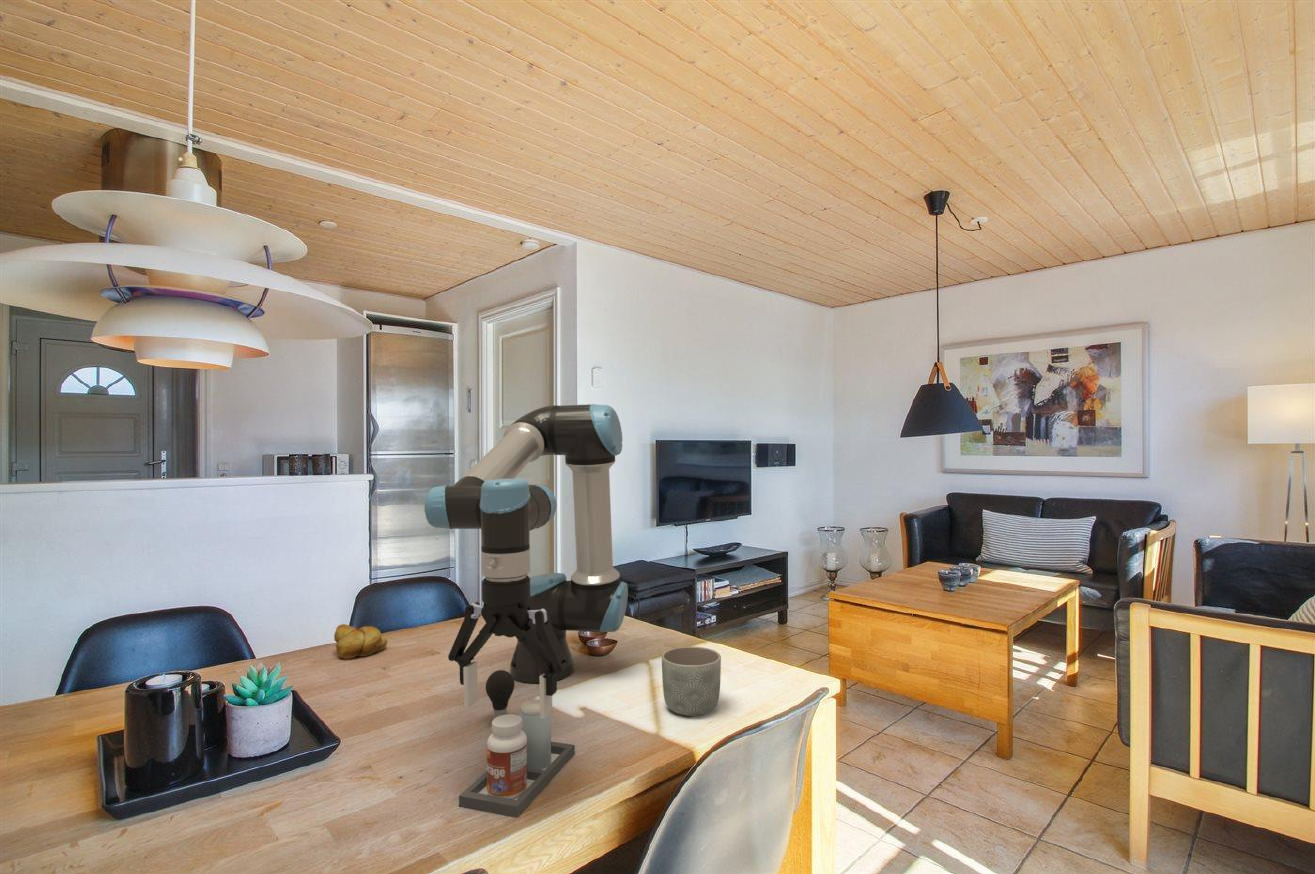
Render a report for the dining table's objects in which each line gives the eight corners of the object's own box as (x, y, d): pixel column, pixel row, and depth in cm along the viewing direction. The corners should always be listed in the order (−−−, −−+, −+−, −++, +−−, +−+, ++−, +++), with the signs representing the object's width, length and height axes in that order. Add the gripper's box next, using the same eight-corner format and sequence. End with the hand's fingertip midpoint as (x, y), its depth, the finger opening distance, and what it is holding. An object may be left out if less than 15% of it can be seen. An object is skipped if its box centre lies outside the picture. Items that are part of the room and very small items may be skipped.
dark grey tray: (458, 806, 96) (458, 795, 96) (524, 746, 115) (524, 737, 115) (517, 817, 93) (517, 806, 93) (574, 753, 112) (574, 744, 112)
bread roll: (385, 645, 175) (385, 616, 175) (390, 654, 167) (390, 624, 167) (333, 653, 168) (333, 623, 168) (336, 663, 160) (336, 632, 160)
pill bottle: (478, 791, 99) (478, 721, 99) (511, 776, 104) (510, 708, 104) (502, 806, 95) (502, 732, 95) (535, 789, 100) (534, 718, 100)
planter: (680, 725, 123) (679, 669, 123) (651, 703, 134) (651, 651, 134) (733, 713, 129) (732, 659, 129) (701, 692, 140) (701, 642, 140)
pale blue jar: (511, 768, 106) (511, 709, 106) (528, 753, 112) (527, 696, 112) (541, 773, 105) (541, 713, 105) (556, 757, 110) (556, 700, 110)
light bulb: (520, 717, 127) (519, 667, 127) (504, 729, 122) (504, 677, 122) (496, 713, 129) (496, 664, 129) (479, 725, 124) (479, 673, 124)
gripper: (424, 577, 100) (426, 709, 100) (567, 586, 93) (568, 730, 93) (453, 567, 107) (454, 691, 107) (587, 575, 100) (589, 708, 100)
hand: (507, 709), depth 100 cm, fingers open, 13 cm apart
